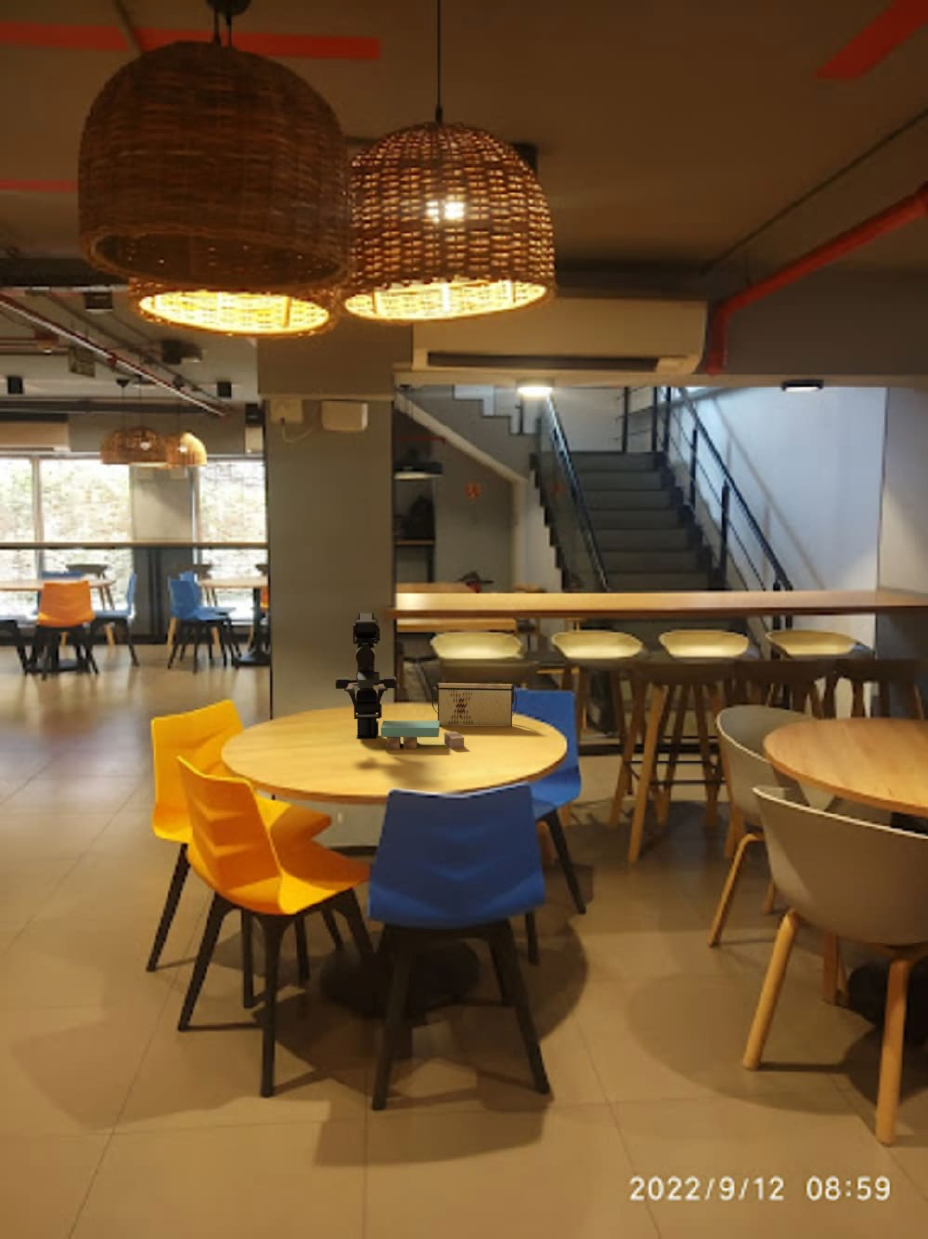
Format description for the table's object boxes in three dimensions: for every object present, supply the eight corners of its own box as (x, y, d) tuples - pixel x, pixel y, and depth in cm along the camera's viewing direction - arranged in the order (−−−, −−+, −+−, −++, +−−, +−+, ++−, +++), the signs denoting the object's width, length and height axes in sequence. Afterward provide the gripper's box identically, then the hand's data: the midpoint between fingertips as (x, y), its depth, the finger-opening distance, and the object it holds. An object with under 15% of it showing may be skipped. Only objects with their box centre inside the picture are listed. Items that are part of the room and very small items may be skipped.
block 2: (403, 749, 278) (403, 737, 278) (404, 742, 286) (404, 730, 286) (416, 749, 278) (416, 737, 278) (417, 742, 286) (417, 730, 286)
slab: (380, 737, 278) (380, 727, 277) (383, 729, 287) (383, 720, 286) (438, 737, 278) (438, 727, 277) (439, 729, 287) (439, 720, 286)
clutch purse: (516, 722, 313) (517, 680, 311) (517, 727, 306) (517, 684, 304) (432, 721, 314) (432, 679, 312) (430, 726, 307) (430, 683, 305)
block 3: (444, 743, 286) (444, 732, 285) (456, 742, 287) (456, 731, 286) (451, 750, 278) (451, 738, 278) (464, 749, 279) (464, 737, 279)
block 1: (386, 750, 277) (386, 738, 277) (388, 743, 285) (388, 731, 285) (399, 750, 277) (399, 737, 277) (400, 743, 285) (400, 731, 285)
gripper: (334, 665, 268) (334, 716, 271) (396, 664, 270) (396, 715, 272) (336, 659, 279) (336, 707, 282) (395, 658, 281) (396, 706, 283)
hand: (366, 709), depth 279 cm, fingers open, 6 cm apart
